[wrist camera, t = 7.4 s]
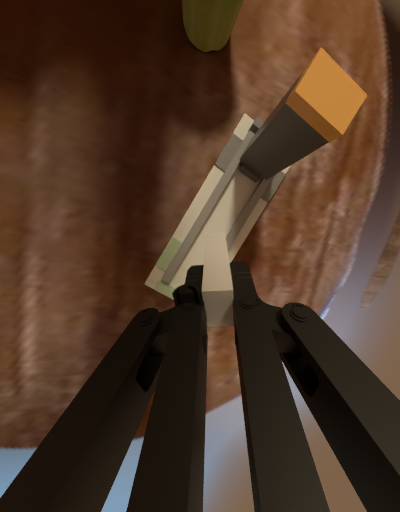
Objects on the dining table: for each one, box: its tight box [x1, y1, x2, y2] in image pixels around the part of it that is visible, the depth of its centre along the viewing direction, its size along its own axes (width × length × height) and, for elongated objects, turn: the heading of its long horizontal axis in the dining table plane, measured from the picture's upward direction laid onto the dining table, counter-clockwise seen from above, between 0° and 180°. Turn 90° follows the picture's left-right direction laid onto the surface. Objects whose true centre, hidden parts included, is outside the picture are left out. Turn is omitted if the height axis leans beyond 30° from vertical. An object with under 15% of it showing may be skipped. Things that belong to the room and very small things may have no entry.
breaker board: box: [145, 114, 291, 300], centre depth 23 cm, size 26×9×4 cm, turn 149°
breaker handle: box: [239, 48, 367, 182], centre depth 17 cm, size 4×4×11 cm
